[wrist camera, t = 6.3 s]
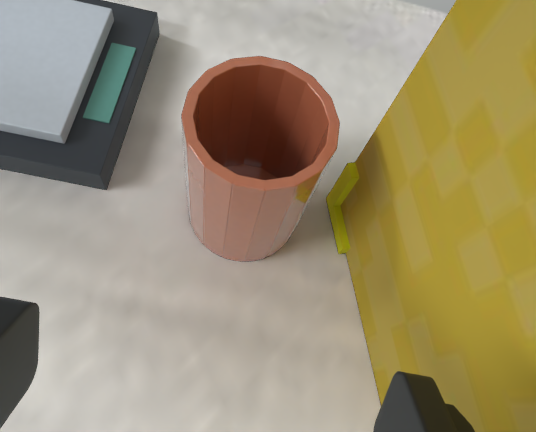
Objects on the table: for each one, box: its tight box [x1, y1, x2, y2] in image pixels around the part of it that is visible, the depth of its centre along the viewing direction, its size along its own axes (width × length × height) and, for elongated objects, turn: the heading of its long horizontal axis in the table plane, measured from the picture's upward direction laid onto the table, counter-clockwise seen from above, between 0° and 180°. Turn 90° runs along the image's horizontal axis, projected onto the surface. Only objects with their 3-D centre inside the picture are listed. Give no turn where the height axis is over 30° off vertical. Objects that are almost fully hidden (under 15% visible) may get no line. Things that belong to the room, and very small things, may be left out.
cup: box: [181, 56, 340, 261], centre depth 24 cm, size 7×7×10 cm
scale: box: [0, 0, 159, 190], centre depth 29 cm, size 13×13×3 cm
